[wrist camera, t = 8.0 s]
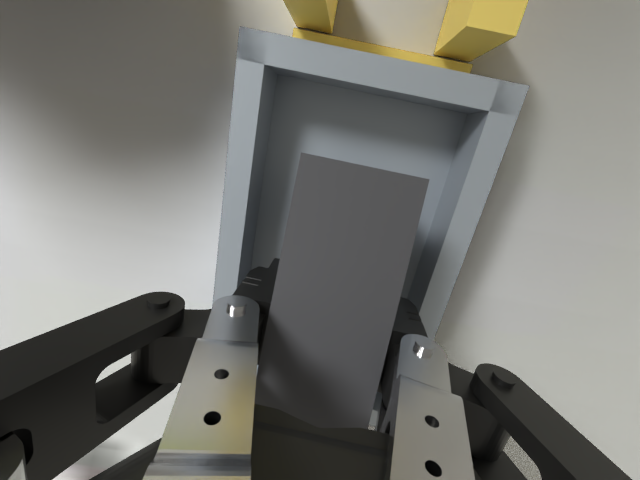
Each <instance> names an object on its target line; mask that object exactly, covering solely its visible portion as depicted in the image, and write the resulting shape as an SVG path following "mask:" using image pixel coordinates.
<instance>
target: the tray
mask: <svg viewBox="0 0 640 480" xmlns="http://www.w3.org/2000/svg"><path fill="white" fill-rule="evenodd" d="M528 89H529V86H528V85H523V84H519V83H514V82H509V81H504V80H499V79H494V78H489V77H485V76H480V75H475V74H470V73H465V72H460V71H455V70H451V69H446V68H441V67H436V66H431V65H426V64H421V63H417V62H412V61H407V60H402V59H397V58H392V57H387V56H383V55H378V54H373V53H368V52H363V51H358V50H353V49H348V48H344V47H339V46H334V45H329V44H324V43H319V42H314V41H310V40H305V39H300V38H295V37H290V36H285V35H280V34H276V33H271V32H266V31H261V30H256V29H251V28H246V27H242V26H240V28H239V39H238V49H237V59H236V69H235V80H234V90H233V100H232V110H231V120H230V131H229V141H228V151H227V161H226V172H225V182H224V192H223V202H222V213H221V223H220V233H219V243H218V254H217V264H216V274H215V284H214V295H213V304H214V302H215V301H216V300H217V299H219V298H221V297H224V296H230V295H233V293H234V292H235V290H236V289H237V288H238V286H239V285H240V284H241V282H242V281H243V280H244V278H246V275H247V274H248V273H249V271H250V270H252V269H254V268H256V267H259V266H260V267H265V268H269V266H270V264H271V263H272V261H273V259H274V258H279V259H280V255H281V250H282V245H283V240H284V235H285V230H286V225H287V220H288V215H289V210H290V205H291V200H292V195H293V190H294V185H295V180H296V175H297V170H298V165H299V160H300V155H301V152H302V153H307V154H311V155H316V156H321V157H326V158H330V159H335V160H340V161H345V162H350V163H354V164H359V165H364V166H369V167H373V168H378V169H383V170H388V171H392V172H397V173H402V174H407V175H411V176H416V177H421V178H426V179H430V180H429V184H428V188H427V192H426V196H425V200H424V204H423V208H422V212H421V216H420V220H419V224H418V228H417V232H416V236H415V240H414V244H413V248H412V252H411V256H410V260H409V264H408V268H407V272H406V277H405V281H404V285H403V289H402V293H401V297H402V298H407V299H409V300H410V301H411V302H412V303H413V304H414V305H415V306H416V307H417V310H418V313H419V316H420V318H421V320H422V321H421V322H422V323H423V325H424V328H425V330H426V333H427V336H428V338H430V339H432V340H433V341H434V338H435V335H436V333H437V330H438V327H439V325H440V322H441V319H442V317H443V314H444V311H445V309H446V306H447V303H448V301H449V298H450V296H451V293H452V290H453V288H454V285H455V282H456V280H457V277H458V274H459V272H460V269H461V266H462V264H463V261H464V258H465V256H466V253H467V250H468V248H469V245H470V243H471V240H472V237H473V235H474V232H475V229H476V227H477V224H478V221H479V219H480V216H481V213H482V211H483V208H484V205H485V203H486V200H487V198H488V195H489V192H490V190H491V187H492V184H493V182H494V179H495V176H496V174H497V171H498V168H499V166H500V163H501V160H502V158H503V155H504V153H505V150H506V147H507V145H508V142H509V139H510V137H511V134H512V131H513V129H514V126H515V123H516V121H517V118H518V115H519V113H520V110H521V107H522V105H523V102H524V100H525V97H526V94H527V92H528ZM212 307H213V305H212ZM258 366H259V365H257V371H258ZM256 376H257V373H256ZM381 400H382V393H380V392H377V394H376V398H375V402H374V406H373V410H372V414H371V418H370V422H369V425H370V426H375V425H376V420H377V414H378V409H379V406H380V403H381Z"/></svg>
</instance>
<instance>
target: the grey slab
mask: <svg viewBox="0 0 640 480" xmlns="http://www.w3.org/2000/svg"><path fill="white" fill-rule="evenodd" d="M429 180H430V179H426V178H421V177H416V176H411V175H407V174H402V173H397V172H392V171H388V170H383V169H378V168H373V167H369V166H364V165H359V164H354V163H350V162H345V161H340V160H335V159H330V158H326V157H321V156H316V155H311V154H307V153H302V152H301V155H300V160H299V165H298V170H297V175H296V180H295V185H294V190H293V195H292V200H291V205H290V210H289V215H288V220H287V225H286V230H285V235H284V240H283V245H282V250H281V255H280V260H279V265H278V270H277V275H276V280H275V286H274V291H273V296H272V301H271V306H270V311H269V316H268V321H267V326H266V331H265V336H264V341H263V346H262V351H261V356H260V361H259V366H258V371H257V376H256V388H255V402H254V404H258V405H263V406H267V407H272V408H276V409H279V410H281V411H283V412H285V413H288V414H290V415H292V416H294V417H296V418H298V419H300V420H302V421H305V422H307V423H309V424H311V425H313V426H315V427H319V428H364V429H368V426H369V422H370V418H371V414H372V410H373V406H374V402H375V398H376V394H377V390H378V385H379V381H380V377H381V373H382V369H383V365H384V361H385V357H386V353H387V349H388V345H389V341H390V337H391V333H392V329H393V325H394V321H395V317H396V313H397V309H398V305H399V301H400V297H401V293H402V289H403V285H404V281H405V277H406V272H407V268H408V264H409V260H410V256H411V252H412V248H413V244H414V240H415V236H416V232H417V228H418V224H419V220H420V216H421V212H422V208H423V204H424V200H425V196H426V192H427V188H428V184H429Z"/></svg>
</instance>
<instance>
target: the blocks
mask: <svg viewBox="0 0 640 480" xmlns="http://www.w3.org/2000/svg"><path fill="white" fill-rule="evenodd" d="M283 1H284V3H285V5H286V7H287V9H288V10H289V12H290V14H291V16H292V18H293V20H294V22H295V24H296V26H297V27H302V28H307V29H312V30H317V31H321V32H326V33H331V34H332V31H333V26H334V20H335V15H336V9H337V3H338V0H283ZM527 3H528V0H449V1H448V5H447V9H446V12H445V16H444V19H443V23H442V27H441V30H440V34H439V37H438V41H437V45H436V48H435V52H434V55H438V56H443V57H448V58H453V59H458V60H463V61H468V62H470V61H472V60H474V59H476V58H477V57H479V56H481V55H483V54H485V53H486V52H488V51H490V50H492V49H494V48H495V47H497V46H499V45H501V44H503V43H504V42H506V41H508V40H510V39H512V38H514V37H515V36H516V35H517V32H518V29H519V26H520V23H521V21H522V18H523V15H524V12H525V9H526V6H527ZM292 37H295V38H300V39H305V40H310V41H314V42H319V43H324V44H329V45H334V46H339V47H344V48H348V49H353V50H358V51H363V52H368V53H373V54H378V55H383V56H387V57H392V58H397V59H402V60H407V61H412V62H417V63H421V64H426V65H431V66H436V67H441V68H446V69H451V70H455V71H460V72H465V73H470V72H471V69H472V66H473V64H468V63H463V62H458V61H453V60H448V59H444V58H439V57H434V56H429V55H424V54H419V53H414V52H409V51H405V50H400V49H395V48H390V47H385V46H380V45H375V44H370V43H366V42H361V41H356V40H351V39H346V38H341V37H336V36H332V35H327V34H322V33H317V32H312V31H307V30H302V29H297V28H294V29H293V36H292Z"/></svg>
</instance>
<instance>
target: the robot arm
mask: <svg viewBox="0 0 640 480" xmlns="http://www.w3.org/2000/svg"><path fill="white" fill-rule="evenodd" d="M279 260H280V259H279V258H274V259H273V261H272V263H271V264H270V266H269V268H265V267H260V266H259V267H256V268H254V269H252V270H250V271H249V273H248V274H247V275H246V278H244V280H243V281H242V282H241V284H240V285H239V286H238V288H237V289H236V290H235V292H234V293H233V295H230V296H224V297H221V298H219V299H217V300H216V301H215V302H214V304H213V307H212V309H208V310H186V309H184V308H185V301H184V299H183V298H182V297H180V296H179V295H176V294H174V293H169V292H152V293H147V294H144V295H141V296H138V297H136V298H133V299H131V300H128V301H126V302H123V303H120V304H118V305H115V306H113V307H110V308H108V309H105V310H103V311H100V312H97V313H95V314H92V315H90V316H87V317H85V318H82V319H80V320H77V321H74V322H72V323H69V324H67V325H64V326H62V327H59V328H57V329H54V330H51V331H49V332H46V333H44V334H41V335H39V336H36V337H34V338H31V339H28V340H26V341H23V342H21V343H18V344H16V345H13V346H11V347H8V348H5V349H3V350H0V480H52V479H53V478H55V477H56V476H57V475H59V474H60V473H61V472H63V471H64V470H66V469H67V468H68V467H70V466H71V465H72V464H74V463H75V462H76V461H78V460H79V459H80V458H82V457H83V456H84V455H86V454H87V453H89V452H90V451H91V450H93V449H94V448H95V447H97V446H98V445H99V444H101V443H102V442H103V441H105V440H106V439H107V438H109V437H110V436H112V435H113V434H114V433H116V432H117V431H118V430H120V429H121V428H122V427H124V426H125V425H126V424H128V423H129V422H130V421H132V420H133V419H135V418H136V417H137V416H139V415H140V414H141V413H143V412H144V411H145V410H147V409H148V408H149V407H151V406H152V405H153V404H155V403H156V402H158V401H159V400H160V399H162V398H163V397H164V396H166V395H167V394H168V393H170V392H171V391H172V390H173V389H174V388H175V387H176V386H177V384H178V383H181V386H180V388H179V391H178V394H177V397H176V400H175V403H174V405H173V408H172V411H171V414H170V417H169V420H168V422H167V425H166V428H165V431H164V434H163V437H162V438H160V439H159V440H157V441H155V442H153V443H152V444H150V445H148V446H146V447H145V448H143V449H141V450H140V451H138V452H136V453H134V454H133V455H131V456H129V457H127V458H126V459H124V460H122V461H121V462H119V463H117V464H115V465H114V466H112V467H110V468H108V469H107V470H105V471H103V472H102V473H100V474H98V475H96V476H95V477H93V478H91V479H89V480H527V479H526V478H525V476H524V475H523V474H522V473H521V472H520V470H519V469H518V468H517V467H516V466H515V464H514V463H513V462H512V461H511V460H510V458H509V457H508V456H507V455H506V453H505V452H504V451H503V449H504V447H505V445H506V443H507V441H508V439H509V437H510V435H511V436H512V438H513V439H514V440H515V441H516V442H517V443H518V444H519V445H520V447H521V448H522V449H523V450H524V451H525V452H526V453H527V454H528V456H529V457H530V458H531V459H532V460H533V461H534V463H535V464H536V465H537V467H538V469H539V471H540V473H541V477H542V480H632V479H631V478H630V477H629V476H627V475H626V474H625V473H624V472H623V471H622V470H621V469H620V468H619V467H617V466H616V465H615V464H614V463H613V462H612V461H611V460H610V459H609V458H607V457H606V456H605V455H604V454H603V453H602V452H601V451H600V450H599V449H597V448H596V447H595V446H594V445H593V444H592V443H591V442H590V441H589V440H587V439H586V438H585V437H584V436H583V435H582V434H581V433H580V432H579V431H577V430H576V429H575V428H574V427H573V426H572V425H571V424H570V423H569V422H567V421H566V420H565V419H564V418H563V417H562V416H561V415H560V414H559V413H557V412H556V411H555V410H554V409H553V408H552V407H551V406H550V405H549V404H547V403H546V402H545V401H544V400H543V399H542V398H541V397H540V396H539V395H537V394H536V393H535V392H534V391H533V390H532V389H531V388H530V387H529V386H527V385H526V384H525V383H524V382H523V381H522V380H521V379H520V378H518V377H517V376H516V375H514V374H513V373H511V372H510V371H508V370H506V369H504V368H502V367H499V366H496V365H493V364H480V365H478V366H477V368H476V370H475V373H474V374H473V373H470V372H468V371H465V370H463V369H461V368H458V367H456V366H454V365H452V364H450V363H448V359H447V354H446V352H445V350H444V349H443V348H442V347H441V346H440V345H439V344H438V343H436V342H435V341H433V340H432V339H430V338H428V336H427V333H426V330H425V328H424V325H423V323H422V322H421V321H422V320H421V318H420V316H419V313H418V310H417V307H416V306H415V305H414V304H413V303H412V302H411V301H410V300H409V299H407V298H402V297H400V301H399V305H398V309H397V313H396V317H395V321H394V325H393V329H392V333H391V337H390V341H389V345H388V349H387V353H386V357H385V361H384V365H383V369H382V373H381V377H380V381H379V385H378V390H377V392H380V393H382V400H381V403H380V406H379V409H378V414H377V420H376V425H375V431H373V430H369V429H364V428H319V427H315V426H313V425H311V424H309V423H307V422H305V421H302V420H300V419H298V418H296V417H294V416H292V415H290V414H288V413H285V412H283V411H281V410H279V409H276V408H272V407H267V406H263V405H258V404H254V402H255V388H256V373H257V365H259V361H260V356H261V351H262V346H263V341H264V336H265V331H266V326H267V321H268V316H269V311H270V306H271V301H272V296H273V291H274V286H275V280H276V275H277V270H278V265H279ZM130 353H131V363H130V364H129V365H127V366H125V367H123V368H122V369H120V370H118V371H116V372H115V373H113V374H111V375H109V376H108V377H106V378H104V379H102V380H101V381H99V382H97V383H96V380H97V378H98V376H99V374H100V373H101V372H102V371H103V370H104V369H105V368H106V367H107V366H109V365H110V364H112V363H114V362H116V361H118V360H119V359H121V358H123V357H125V356H127V355H129V354H130Z"/></svg>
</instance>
